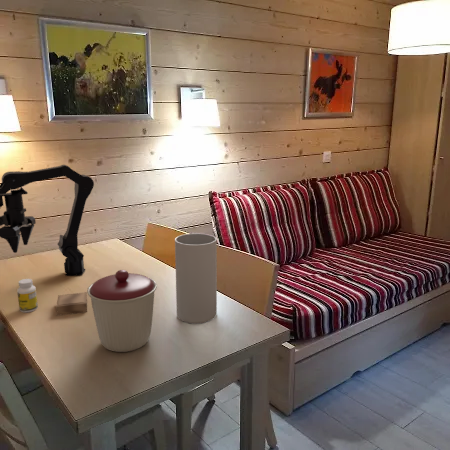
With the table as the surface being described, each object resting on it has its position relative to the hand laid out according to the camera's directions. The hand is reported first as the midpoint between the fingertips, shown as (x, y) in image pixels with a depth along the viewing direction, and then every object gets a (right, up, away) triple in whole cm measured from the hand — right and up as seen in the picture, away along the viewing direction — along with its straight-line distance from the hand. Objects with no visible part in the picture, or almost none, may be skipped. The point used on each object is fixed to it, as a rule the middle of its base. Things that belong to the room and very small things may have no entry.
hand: (20, 248), depth 157 cm
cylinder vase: (+66, -20, -23) cm, 73 cm away
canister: (+48, -24, -39) cm, 66 cm away
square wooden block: (+26, -18, -18) cm, 36 cm away
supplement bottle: (+12, -19, -19) cm, 30 cm away
